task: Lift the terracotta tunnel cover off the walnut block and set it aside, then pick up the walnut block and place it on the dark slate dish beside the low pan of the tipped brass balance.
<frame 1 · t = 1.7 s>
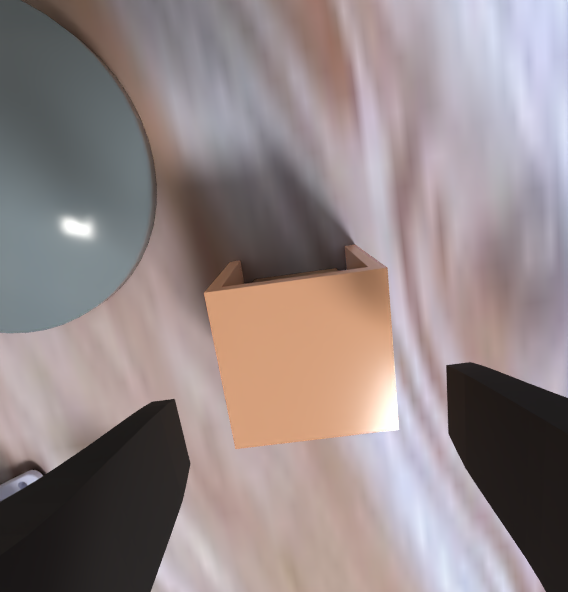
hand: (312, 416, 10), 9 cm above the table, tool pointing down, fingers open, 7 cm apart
cover: (300, 312, 19), on the table
dish: (2, 178, 17), on the table
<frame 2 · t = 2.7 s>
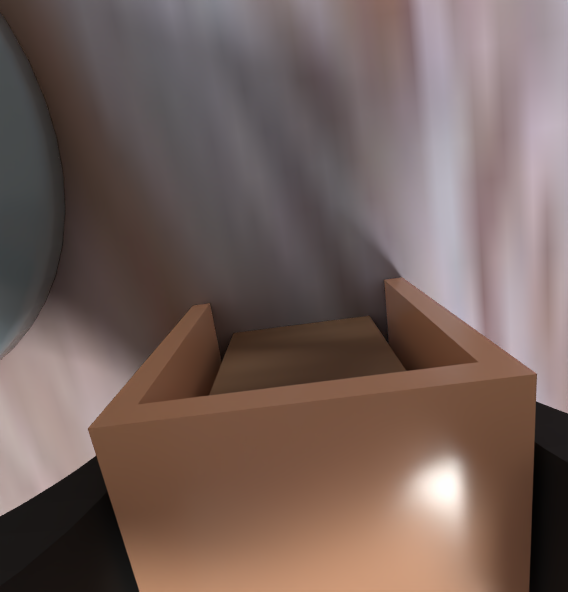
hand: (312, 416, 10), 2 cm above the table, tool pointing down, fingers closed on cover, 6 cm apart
cover: (309, 385, 11), on the table, touching gripper
block: (308, 384, 12), on the table
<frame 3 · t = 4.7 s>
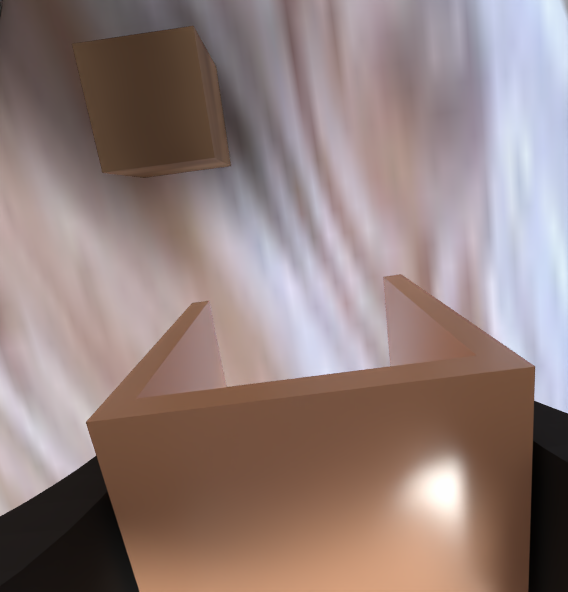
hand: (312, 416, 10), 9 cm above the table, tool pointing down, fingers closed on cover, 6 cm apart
cover: (308, 383, 11), point 7 cm above the table, touching gripper
block: (179, 124, 16), on the table
when the fingers open (3 cm above the table, at t = 6.7 s): cover drops 1 cm, on the table.
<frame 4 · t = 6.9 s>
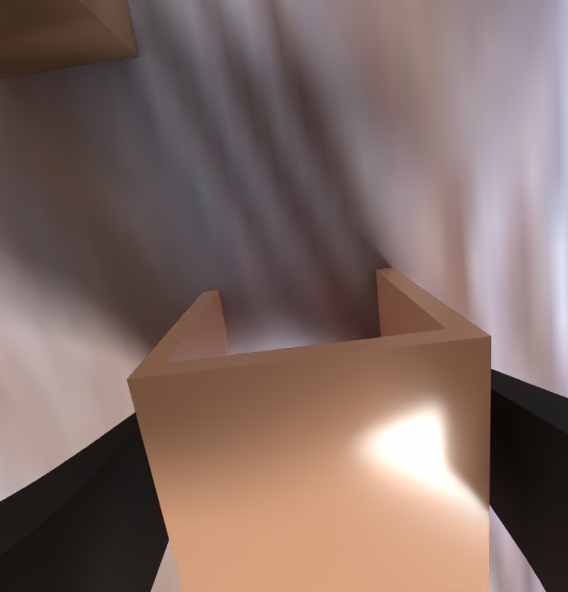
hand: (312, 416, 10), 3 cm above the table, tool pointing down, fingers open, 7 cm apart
cover: (307, 366, 13), on the table
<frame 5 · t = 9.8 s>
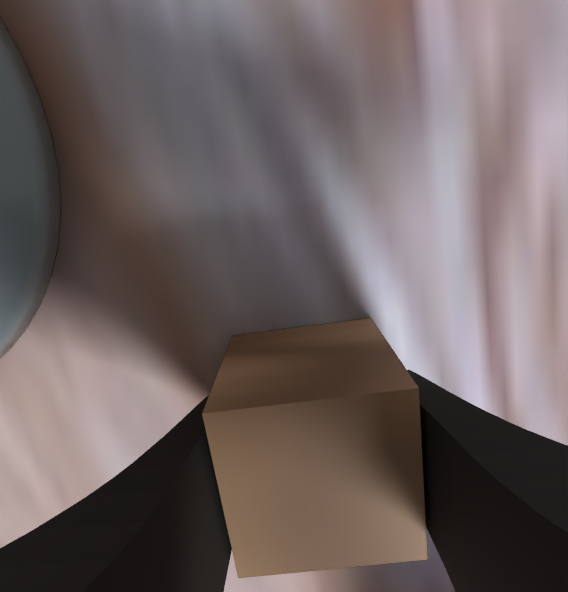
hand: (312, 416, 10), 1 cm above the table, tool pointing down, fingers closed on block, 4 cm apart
block: (309, 389, 11), on the table, touching gripper
when the fingers open (4 cm above the table, at t = 13.1 s): block drops 1 cm, resting on dish.
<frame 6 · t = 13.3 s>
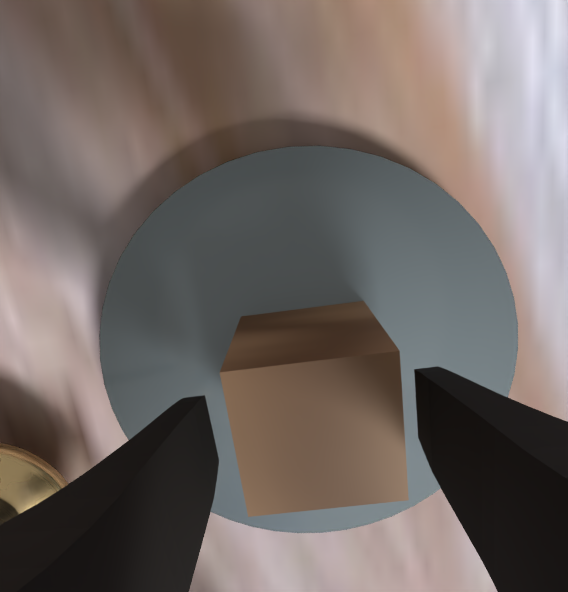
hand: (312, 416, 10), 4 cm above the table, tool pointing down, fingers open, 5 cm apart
block: (309, 364, 13), point 1 cm above the table, touching dish
dish: (305, 352, 14), on the table
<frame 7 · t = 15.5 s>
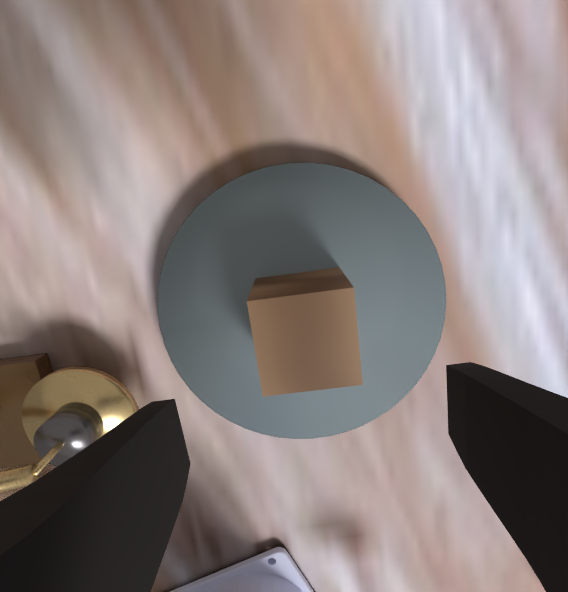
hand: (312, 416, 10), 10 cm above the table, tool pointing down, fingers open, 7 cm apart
block: (302, 312, 18), point 1 cm above the table, touching dish
dish: (300, 307, 19), on the table
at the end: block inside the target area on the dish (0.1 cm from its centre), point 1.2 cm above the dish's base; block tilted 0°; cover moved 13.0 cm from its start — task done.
